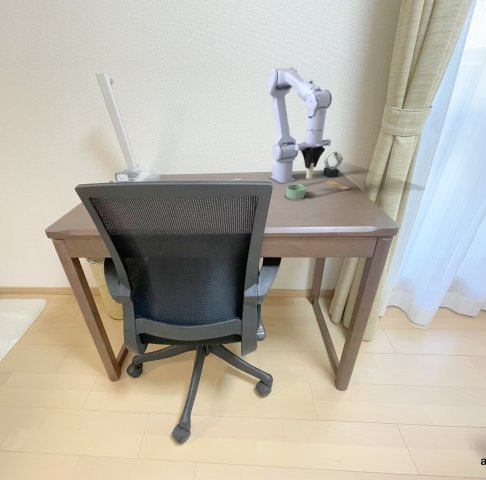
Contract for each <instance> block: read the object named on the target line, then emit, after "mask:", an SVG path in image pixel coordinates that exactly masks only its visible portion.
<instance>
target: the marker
mask: <svg viewBox="0 0 486 480" xmlns="http://www.w3.org/2000/svg"><path fill="white" fill-rule="evenodd" d="M314 168H315V167H314V159H312V160H311V166H310V168H309V169H308V168H306V175H305V178H306V179H308V180H309V179H313V173H314Z"/></svg>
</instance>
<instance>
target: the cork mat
mask: <svg viewBox="0 0 486 480" xmlns="http://www.w3.org/2000/svg"><path fill="white" fill-rule="evenodd" d="M323 182H324V183H327V184H329V185H332V186H334V187H336V188H338V189H341V190H343V191H346V190H349V189H351V187H349V186H347V185H344V184H342V183H340V182H337V181H335V180H332V179H326V180H323Z"/></svg>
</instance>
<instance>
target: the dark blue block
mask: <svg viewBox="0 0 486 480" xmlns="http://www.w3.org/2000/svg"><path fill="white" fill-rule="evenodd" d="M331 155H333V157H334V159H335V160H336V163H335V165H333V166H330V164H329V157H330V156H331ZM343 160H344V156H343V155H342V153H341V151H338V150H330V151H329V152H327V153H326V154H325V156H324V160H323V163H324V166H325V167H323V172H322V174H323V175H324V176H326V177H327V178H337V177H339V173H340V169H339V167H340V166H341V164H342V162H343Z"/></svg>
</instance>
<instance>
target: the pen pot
mask: <svg viewBox="0 0 486 480" xmlns="http://www.w3.org/2000/svg"><path fill="white" fill-rule="evenodd" d="M306 189H307V188H306V186H305V185H304V184H297V183H295V184H294V183H293V184H288V185H287V186H286V192H285V195H286V197H287V198H289V199H292V200H301V199H304V198H305V197H306V196H305V194H306Z"/></svg>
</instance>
